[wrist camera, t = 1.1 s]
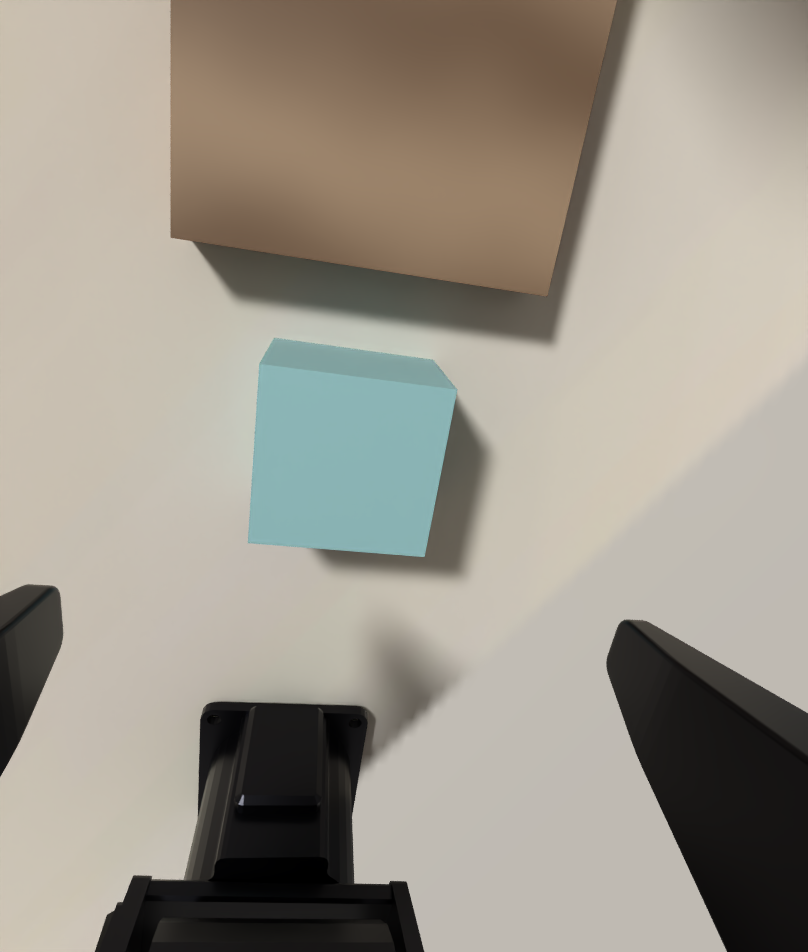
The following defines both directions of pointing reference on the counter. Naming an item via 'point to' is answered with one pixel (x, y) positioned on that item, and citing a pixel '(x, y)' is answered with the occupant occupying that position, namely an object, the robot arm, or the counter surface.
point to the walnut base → (385, 130)
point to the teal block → (347, 448)
